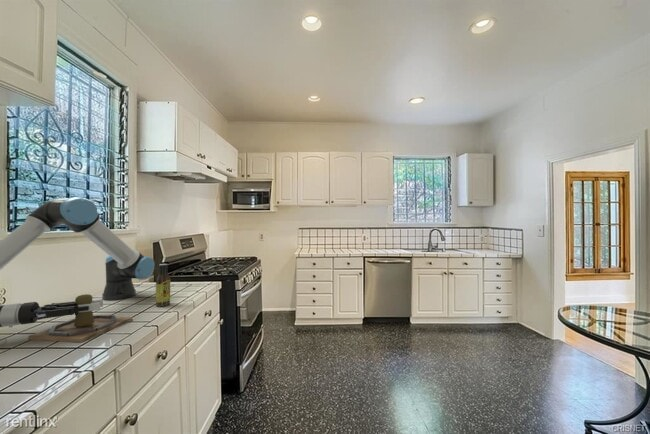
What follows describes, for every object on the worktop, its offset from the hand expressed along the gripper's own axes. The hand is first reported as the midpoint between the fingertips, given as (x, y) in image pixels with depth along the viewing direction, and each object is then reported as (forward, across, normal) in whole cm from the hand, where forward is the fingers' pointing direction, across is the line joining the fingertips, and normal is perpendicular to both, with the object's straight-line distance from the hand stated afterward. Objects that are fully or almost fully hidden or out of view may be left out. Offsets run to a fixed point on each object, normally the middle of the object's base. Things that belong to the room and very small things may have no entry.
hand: (101, 304), depth 117 cm
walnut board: (-5, 0, -9) cm, 10 cm away
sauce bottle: (+20, -21, -9) cm, 31 cm away
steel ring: (-5, 0, -7) cm, 9 cm away
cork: (-5, 0, -7) cm, 9 cm away
